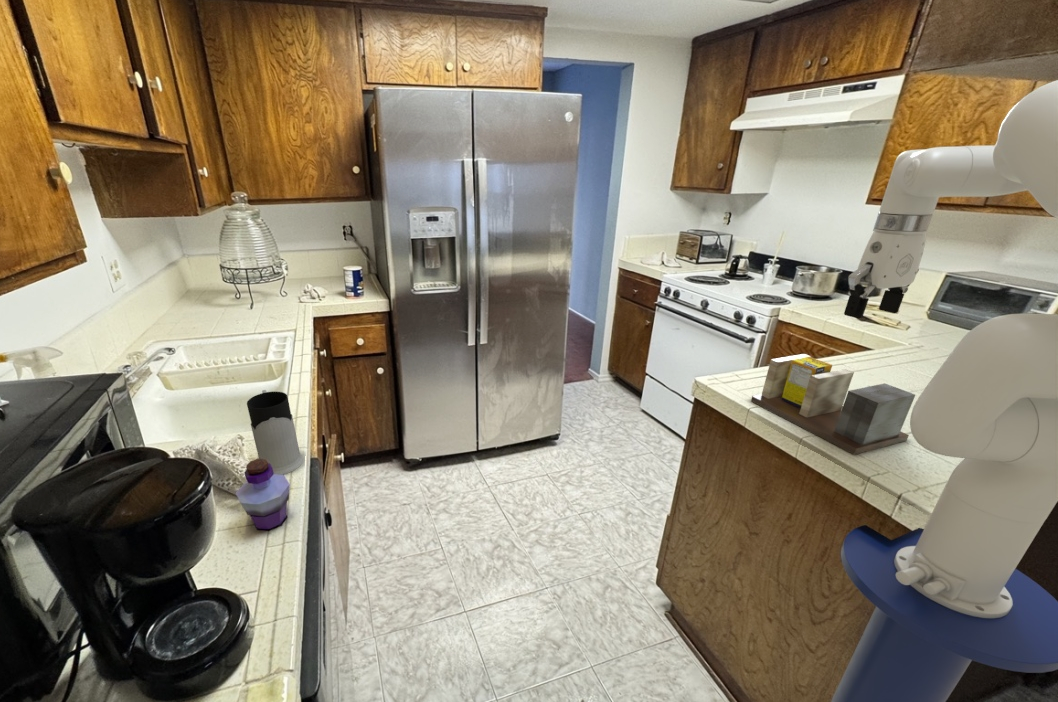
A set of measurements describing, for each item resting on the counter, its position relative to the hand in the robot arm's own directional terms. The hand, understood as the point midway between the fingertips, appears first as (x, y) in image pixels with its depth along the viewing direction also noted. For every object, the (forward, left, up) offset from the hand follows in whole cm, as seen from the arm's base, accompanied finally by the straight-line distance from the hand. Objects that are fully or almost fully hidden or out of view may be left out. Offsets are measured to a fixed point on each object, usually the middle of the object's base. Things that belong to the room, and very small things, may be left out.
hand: (870, 314), depth 93 cm
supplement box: (+6, +12, -27) cm, 30 cm away
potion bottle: (-117, +12, -28) cm, 121 cm away
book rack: (+6, +6, -28) cm, 30 cm away
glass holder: (-117, +33, -28) cm, 125 cm away
